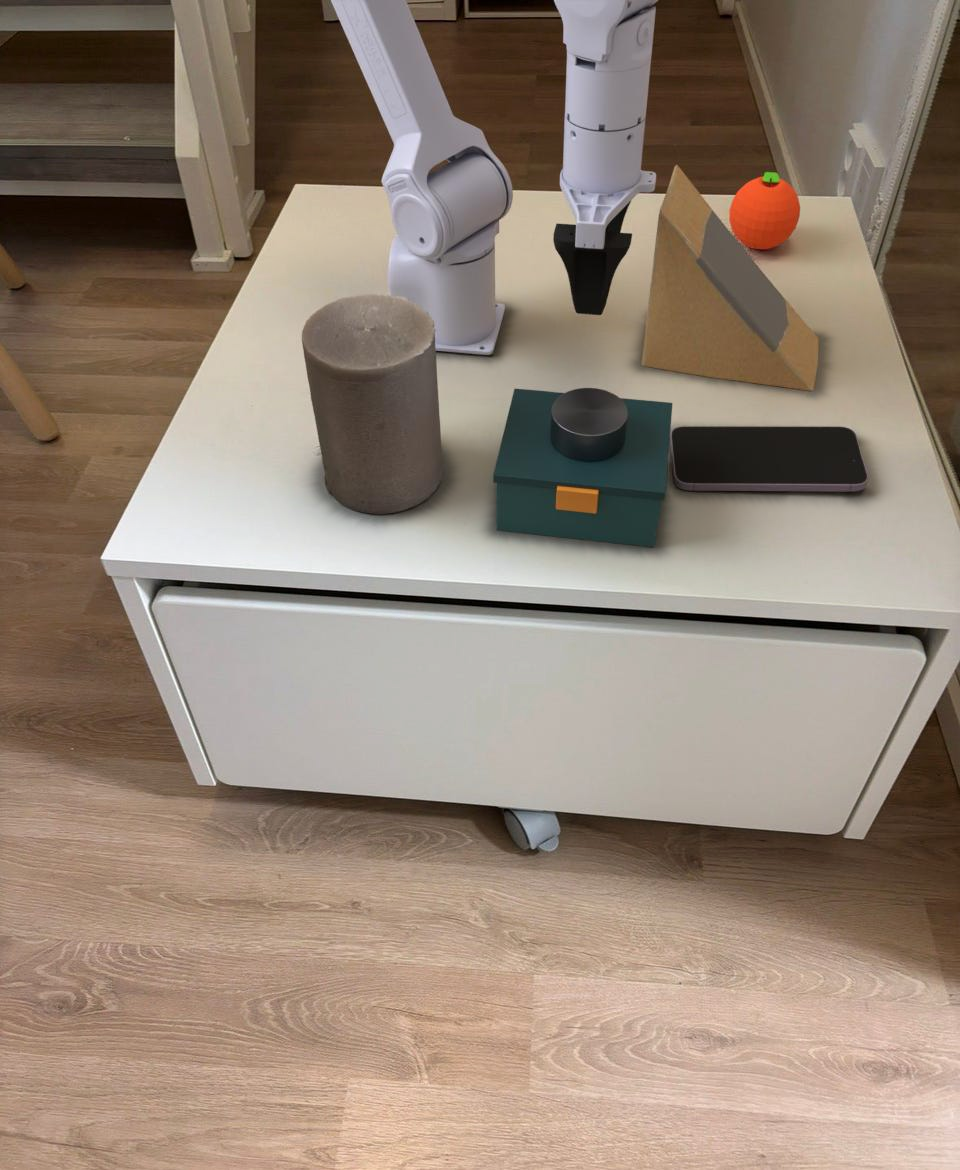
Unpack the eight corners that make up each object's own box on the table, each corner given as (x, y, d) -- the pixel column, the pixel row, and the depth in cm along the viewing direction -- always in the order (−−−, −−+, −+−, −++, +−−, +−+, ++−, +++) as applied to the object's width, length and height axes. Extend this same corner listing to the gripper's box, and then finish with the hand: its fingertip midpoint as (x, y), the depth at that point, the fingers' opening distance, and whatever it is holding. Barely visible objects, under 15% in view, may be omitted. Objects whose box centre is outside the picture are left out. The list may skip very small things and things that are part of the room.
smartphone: (669, 425, 85) (854, 425, 84) (668, 435, 86) (851, 436, 85) (675, 484, 81) (870, 485, 79) (673, 494, 81) (867, 496, 80)
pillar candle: (304, 499, 81) (272, 339, 70) (356, 425, 87) (334, 267, 76) (417, 527, 79) (402, 366, 68) (462, 449, 85) (455, 289, 74)
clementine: (726, 220, 109) (737, 154, 104) (792, 225, 108) (807, 159, 103) (722, 259, 104) (734, 192, 99) (792, 265, 103) (807, 198, 98)
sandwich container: (814, 393, 89) (858, 234, 78) (640, 367, 92) (658, 210, 81) (820, 337, 95) (862, 181, 84) (655, 315, 98) (674, 161, 87)
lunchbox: (492, 535, 78) (492, 478, 74) (514, 441, 86) (515, 385, 81) (656, 553, 77) (665, 496, 72) (664, 456, 84) (672, 399, 80)
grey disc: (545, 458, 75) (546, 431, 73) (555, 410, 79) (556, 384, 77) (622, 465, 75) (625, 439, 73) (627, 417, 78) (630, 391, 76)
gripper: (655, 164, 67) (637, 341, 77) (668, 75, 77) (650, 243, 87) (548, 158, 68) (544, 333, 78) (574, 71, 78) (567, 237, 88)
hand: (594, 285), depth 82 cm, fingers open, 7 cm apart
